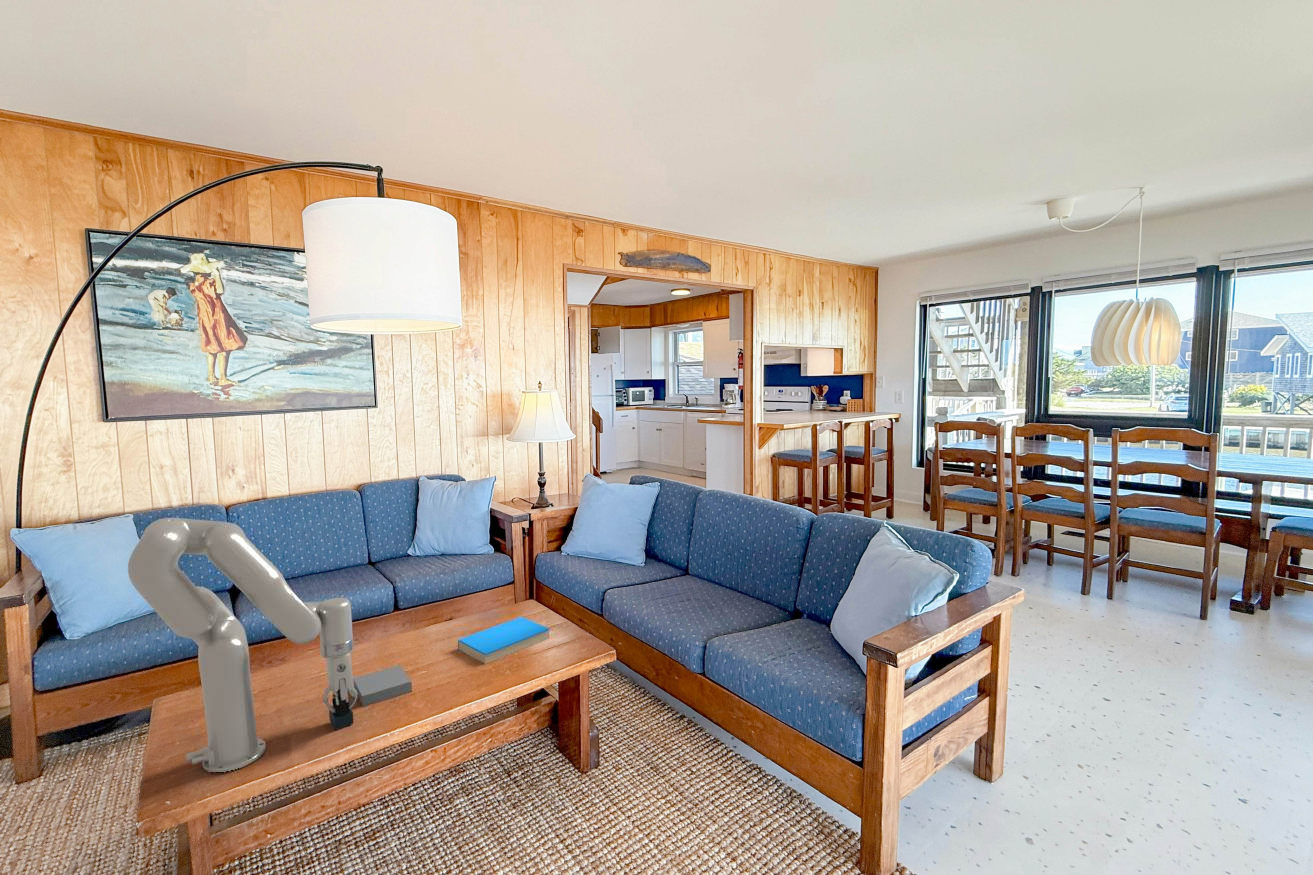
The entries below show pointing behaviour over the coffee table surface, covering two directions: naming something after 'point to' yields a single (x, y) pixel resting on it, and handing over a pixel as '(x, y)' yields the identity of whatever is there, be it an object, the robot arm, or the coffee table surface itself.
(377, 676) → the plinth
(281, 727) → the coffee table surface
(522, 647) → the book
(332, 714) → the watch
